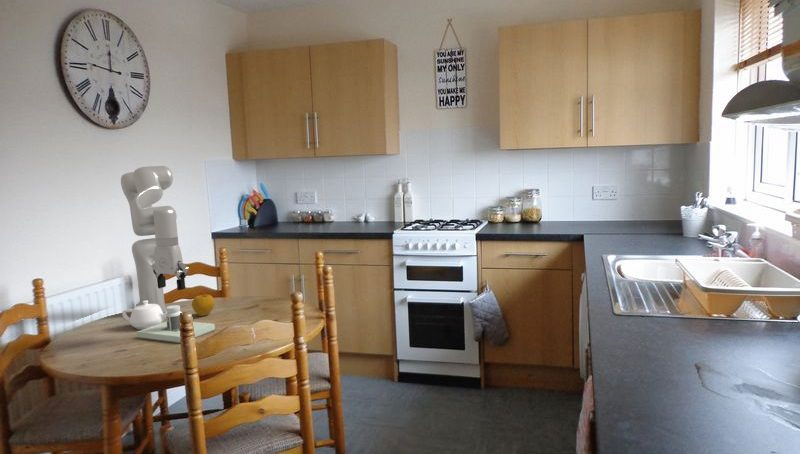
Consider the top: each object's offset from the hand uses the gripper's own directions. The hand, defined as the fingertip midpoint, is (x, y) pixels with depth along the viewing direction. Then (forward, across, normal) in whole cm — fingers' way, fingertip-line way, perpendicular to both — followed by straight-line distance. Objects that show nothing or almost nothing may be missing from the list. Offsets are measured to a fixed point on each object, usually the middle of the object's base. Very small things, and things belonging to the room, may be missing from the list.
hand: (171, 288), depth 210 cm
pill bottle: (+17, +1, 0) cm, 17 cm away
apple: (+18, -8, +22) cm, 30 cm away
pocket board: (+17, +1, 0) cm, 17 cm away
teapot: (+18, -19, +4) cm, 27 cm away
